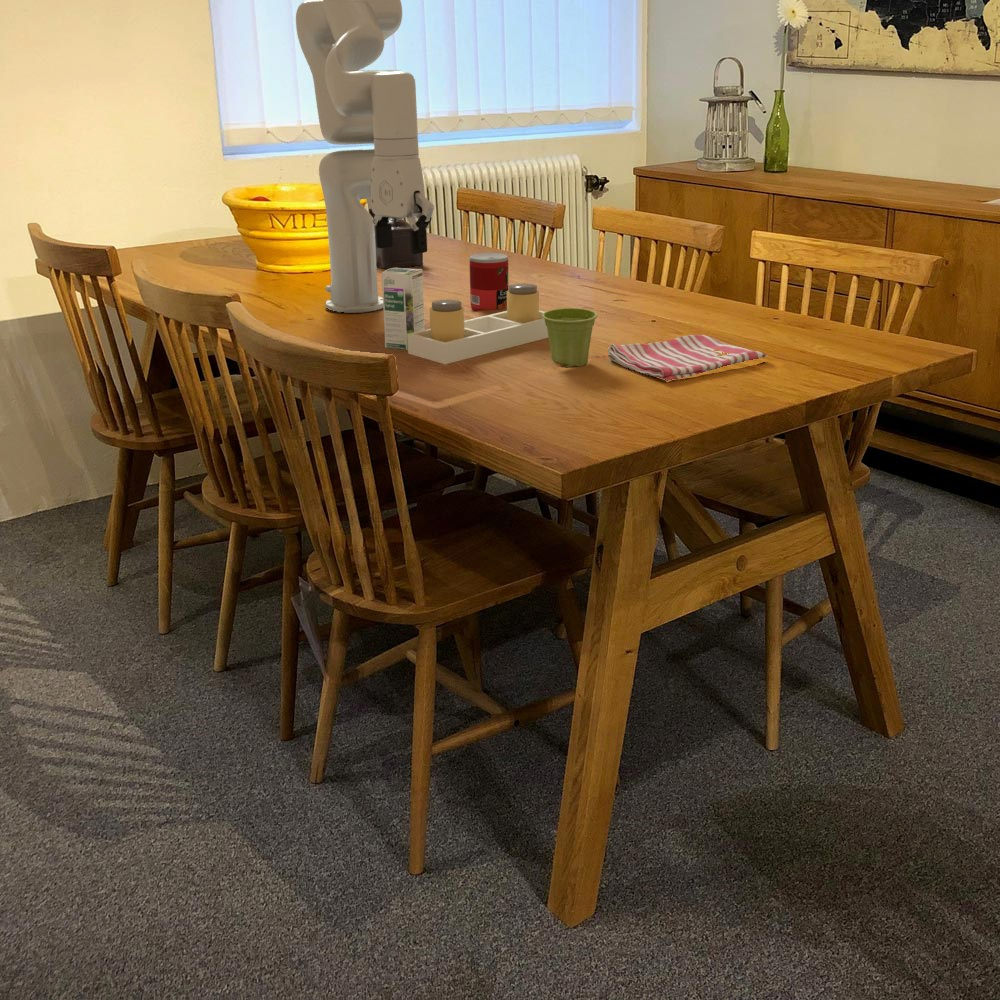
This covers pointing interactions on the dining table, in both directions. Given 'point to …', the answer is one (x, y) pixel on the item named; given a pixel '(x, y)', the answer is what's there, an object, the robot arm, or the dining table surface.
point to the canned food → (488, 281)
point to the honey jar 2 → (522, 303)
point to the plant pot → (569, 334)
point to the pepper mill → (398, 248)
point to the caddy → (477, 338)
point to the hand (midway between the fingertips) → (401, 250)
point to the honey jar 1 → (447, 320)
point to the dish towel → (679, 356)
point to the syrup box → (402, 305)
